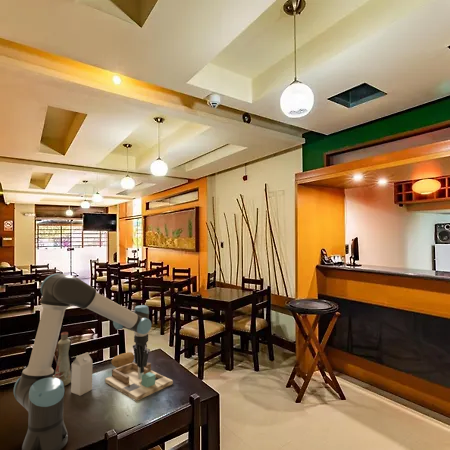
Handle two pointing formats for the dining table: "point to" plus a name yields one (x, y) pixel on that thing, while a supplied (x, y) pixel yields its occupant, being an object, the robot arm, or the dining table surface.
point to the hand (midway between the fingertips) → (140, 378)
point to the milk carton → (81, 374)
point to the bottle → (63, 360)
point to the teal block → (148, 379)
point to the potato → (122, 359)
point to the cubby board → (135, 381)
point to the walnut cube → (148, 366)
